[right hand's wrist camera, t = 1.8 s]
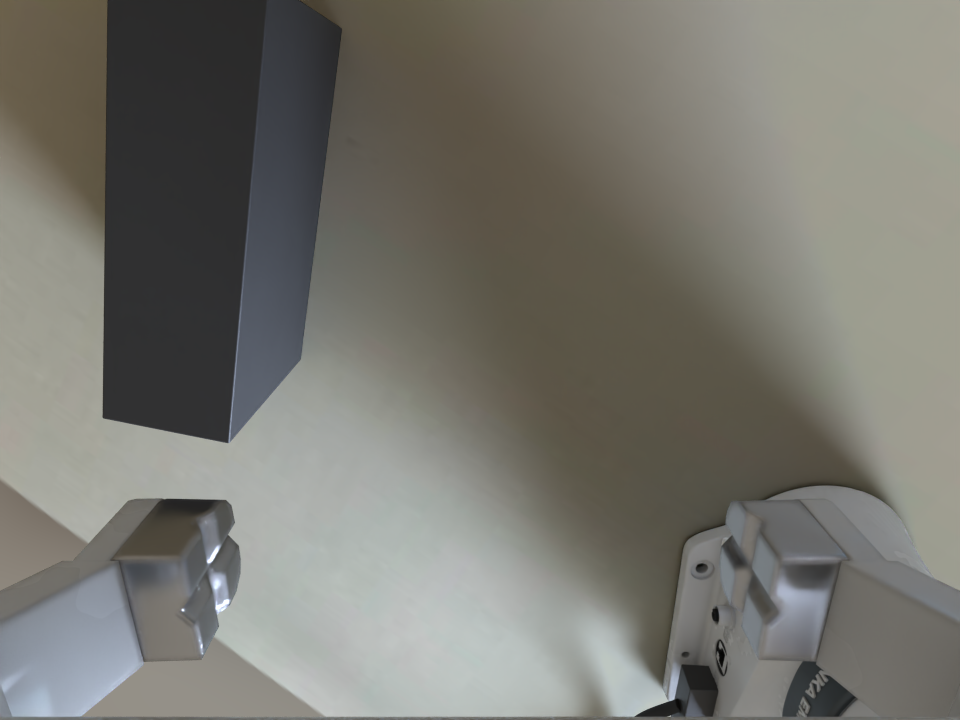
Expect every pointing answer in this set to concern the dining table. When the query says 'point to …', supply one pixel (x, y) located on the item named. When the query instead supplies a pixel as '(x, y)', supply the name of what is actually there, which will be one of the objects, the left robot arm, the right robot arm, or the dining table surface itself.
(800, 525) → the right robot arm
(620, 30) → the dining table surface
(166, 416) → the box
